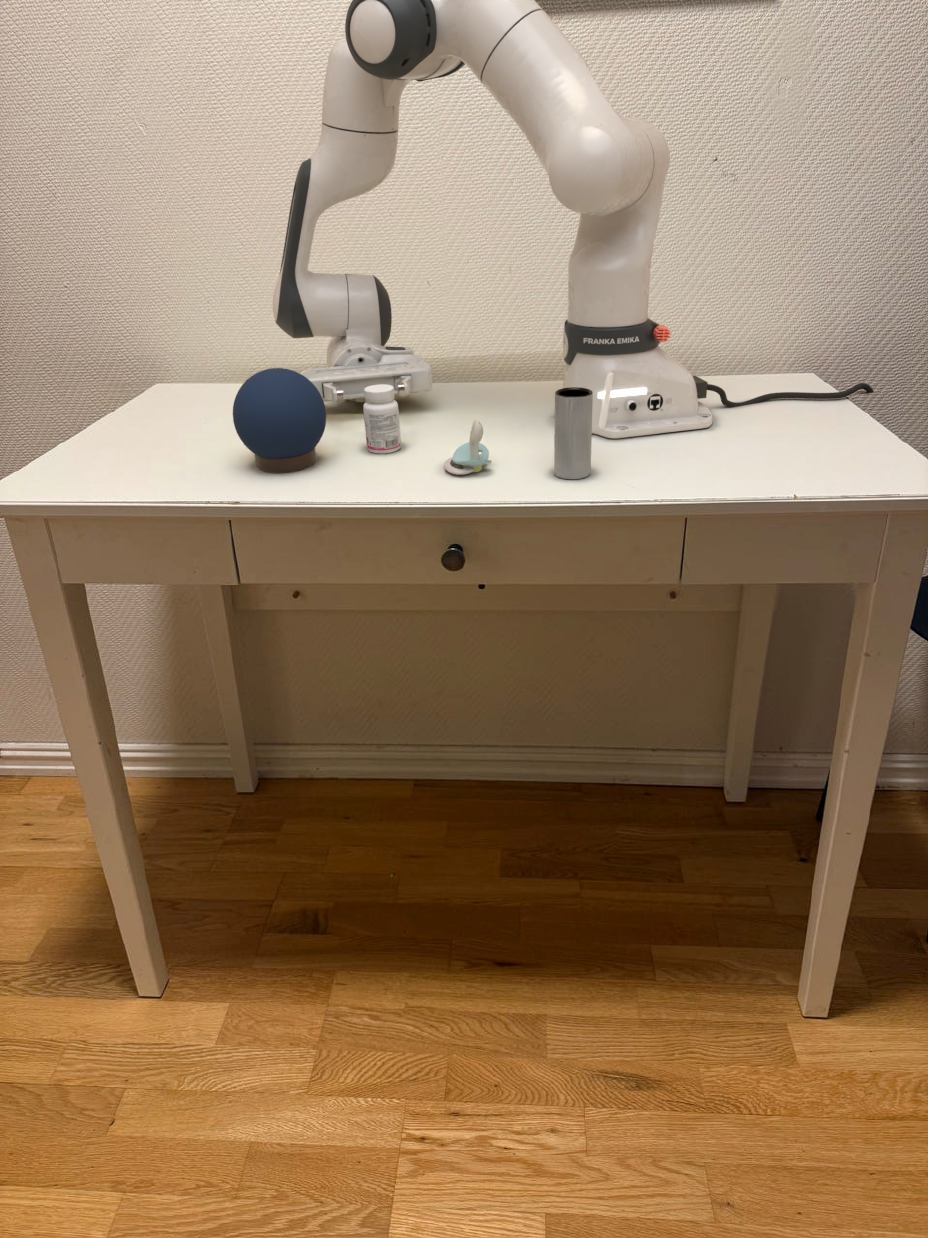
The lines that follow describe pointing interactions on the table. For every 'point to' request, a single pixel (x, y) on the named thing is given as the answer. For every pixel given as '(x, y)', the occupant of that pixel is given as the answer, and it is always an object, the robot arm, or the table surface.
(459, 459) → the pacifier
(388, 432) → the pill bottle
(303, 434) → the ball
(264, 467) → the ball stand
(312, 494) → the table surface
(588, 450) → the grey cylinder
